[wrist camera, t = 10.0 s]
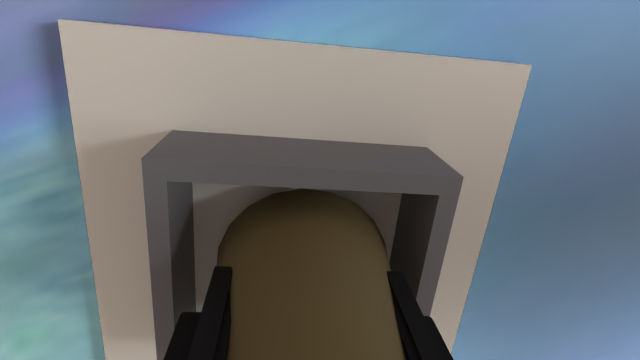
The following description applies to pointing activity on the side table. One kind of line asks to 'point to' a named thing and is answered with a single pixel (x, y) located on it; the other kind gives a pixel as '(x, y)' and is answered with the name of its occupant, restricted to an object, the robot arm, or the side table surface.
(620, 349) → the side table surface
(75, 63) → the beige square socket base
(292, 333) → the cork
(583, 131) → the side table surface
